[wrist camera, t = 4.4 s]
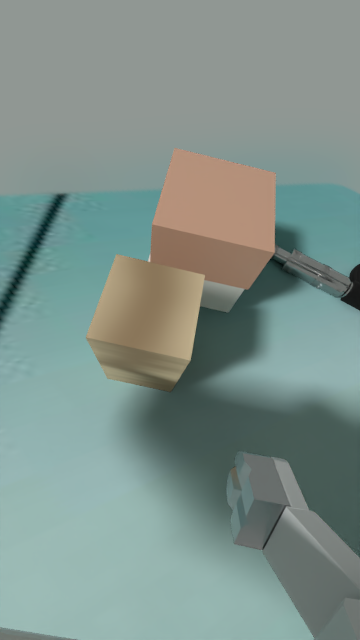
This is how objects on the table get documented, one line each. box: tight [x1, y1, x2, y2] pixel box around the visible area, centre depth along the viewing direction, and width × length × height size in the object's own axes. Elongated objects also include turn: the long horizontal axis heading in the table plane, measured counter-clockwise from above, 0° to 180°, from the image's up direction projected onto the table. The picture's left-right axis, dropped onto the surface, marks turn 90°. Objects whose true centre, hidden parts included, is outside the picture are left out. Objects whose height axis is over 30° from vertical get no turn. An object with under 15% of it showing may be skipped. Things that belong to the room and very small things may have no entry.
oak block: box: [86, 254, 205, 392], centre depth 16 cm, size 4×4×8 cm
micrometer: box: [270, 244, 360, 310], centre depth 24 cm, size 15×7×2 cm, turn 61°
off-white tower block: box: [148, 253, 244, 313], centre depth 21 cm, size 7×7×4 cm
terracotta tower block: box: [150, 148, 276, 290], centre depth 18 cm, size 7×7×4 cm
